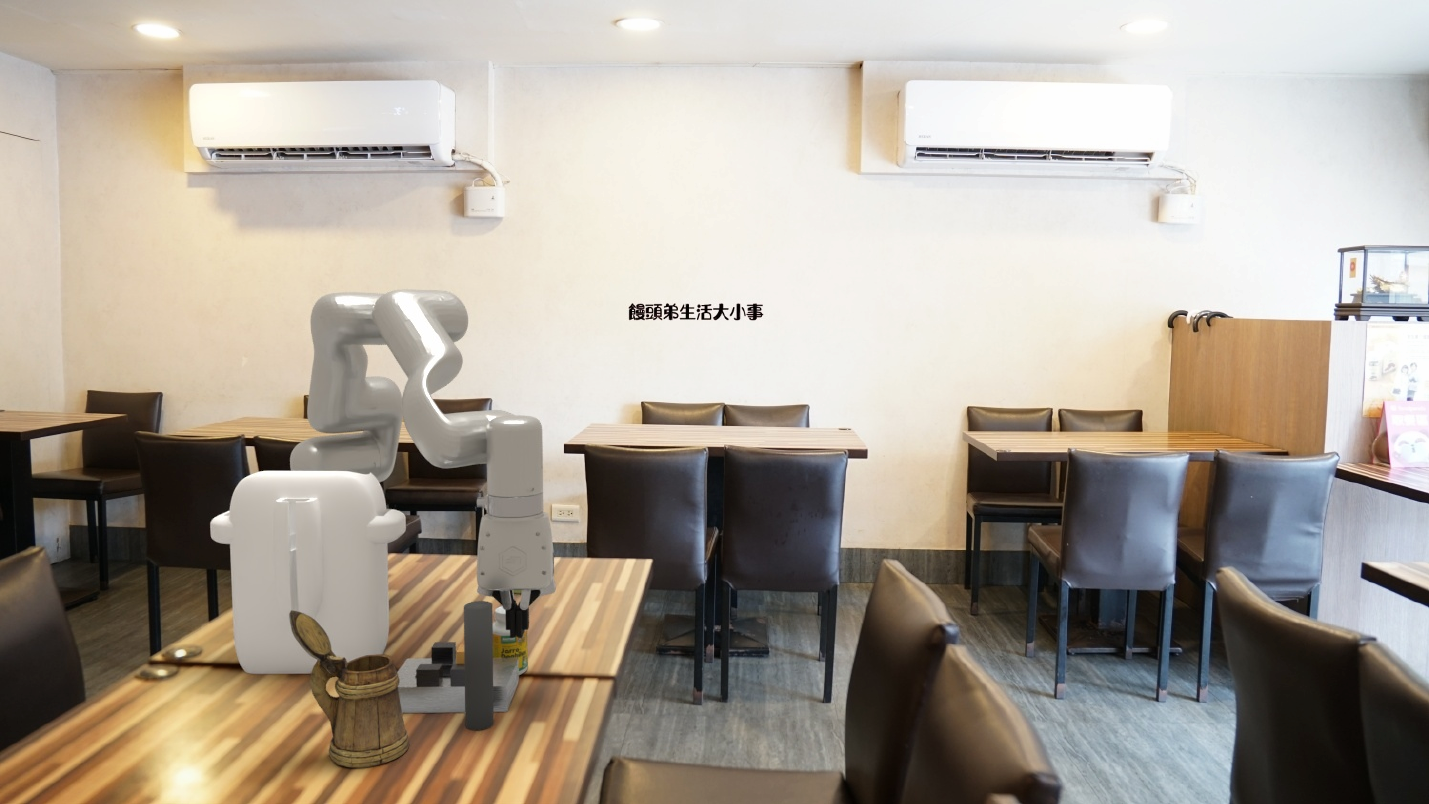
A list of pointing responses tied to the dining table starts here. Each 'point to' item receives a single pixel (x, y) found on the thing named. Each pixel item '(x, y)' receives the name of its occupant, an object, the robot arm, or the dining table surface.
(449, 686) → the breaker panel
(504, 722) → the dining table surface
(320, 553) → the toaster
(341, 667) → the wooden mug
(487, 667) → the post
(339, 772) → the dining table surface
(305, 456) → the robot arm
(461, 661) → the block
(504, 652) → the supplement bottle
